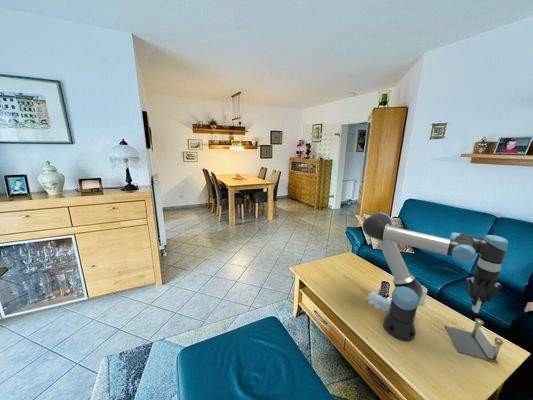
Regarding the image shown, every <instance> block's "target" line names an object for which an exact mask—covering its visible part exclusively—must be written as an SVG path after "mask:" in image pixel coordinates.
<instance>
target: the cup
mask: <svg viewBox="0 0 533 400" xmlns="http://www.w3.org/2000/svg"><path fill="white" fill-rule="evenodd" d="M421 286H422V290H423V294H422V297H421V299H420V302H419V304H418V306H423V305H425V302H426V298H427V294H428V288H427V287H425V286H424V285H422V284H421Z"/></svg>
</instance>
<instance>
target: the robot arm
mask: <svg viewBox="0 0 533 400" xmlns="http://www.w3.org/2000/svg"><path fill="white" fill-rule="evenodd" d="M392 222H393V221H392V219H391V217H390V216H389V215H388V214H386V213H384V212H375V213H372V214H371V215H370V216H368V217H367V218H366V219H364V220H363V222H362V230H363V232H364V234H365V235H367V236H368V237H369V238H372V239H375V240H376V241H377V243H378V244H379V247H380V249H381V252H382V254H383V256H384V258H385V260H386V263H387V265H388V267H389V269H390V271H391V274H392V276H393V279H392V283H393V285H394V289H393V290H392V293H391V298H390V299H391V300H390V305H389V310H388V313H387V314H386V315H385V317H384V319H383V328H384V330H385V331H386V332H387V333H388V334H389V335H390V336H392V337H393V338H396V339H398V340H400V341H404V342H410V341H413V340H414V339H415V337H416V333H417V332H416V327H415V323H414V322H415V319H416V314H417V309H418V307H419V305H418V304H419V302H420V299H421V297H422V294H423V290H422V286H423V285H422V284H421V283H420V282H419V281H418V280H417V279H416V278H415V275H413V274H411V272H409V269H408V267H407V265H406V261H405V260H404V258H403V256H402V254H401V251H400V249H399V247H398V245H397V243H398V244H401V245H405V246H408V247H409V246H410V247H414V248H417V249H421V250H424V251H429V252H433V253H437V254H440V255H444V256H447V257H452V258H453V259H454V260H456V261H457V262H458V263H463V264H468V263H469V264H470V263H471V262H473V261H474V260H475V259H476V255H479V256H478V261H477V265H476V267H475V270H474V274H473V275H472V276H471V277H468V276H467V277H465V279H466V281H467V294H468V296H469V297H470V299H472V300H471V304H472V307H471V309H472V311H473V312H474V313H475V314H479V312H480V308H483V306H484V304H485V303H487V302H491V301H492V299H493V298H494V296H496V294H497V292H498V291H499V290H500V289H502V288H503V285H502V284H500V283H499V282H498V278H499V275H500V272H501V268H502V265H503V261H504V259H505V256H506V253H507V251H508V246H509V241H508V239H506V238H504V237H502V236H498V235H494V234H493V235H492V234H487V235H485V236H484V237H478V236H474V235H470V234H465V233H462V232H455V231H454V232H451V233H450V237H449V238H446V237H442V236H437V235H432V234H428V233H423V232H418V231H413V230H410V229H409V230H408V229H406V228H405V229H404V228H400V227H396V226H395V227H394V226H392ZM474 282H475V286H474ZM421 285H422V286H421Z"/></svg>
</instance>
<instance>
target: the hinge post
mask: <svg viewBox="0 0 533 400" xmlns="http://www.w3.org/2000/svg"><path fill="white" fill-rule="evenodd" d="M474 322H475V323H474V326H473V329H472V331H471V332H472V337H473V338H475V335H476V332H477V329H478V327H480V328H482V326H483V325H484V323H485V322H484V320H482V319H480V318H476V317H475V319H474ZM475 339H476V338H475Z"/></svg>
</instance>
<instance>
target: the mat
mask: <svg viewBox="0 0 533 400" xmlns="http://www.w3.org/2000/svg"><path fill="white" fill-rule="evenodd" d="M444 327H445V330H446V332H447V334H448V336H449V337H450V339H451V342H452V344H453V346H454V348H455V349H456V350H457V353H458V354H462V355H466V356H470V357H474V358H477V359H481V360H484V361H488V362H492V363H494V364H498V363H499V362H498V360H497V359H496V360H493V359H492V358H489V357H488V356H487V354H486V353H485V352H484V350H483V349H482V347H481V346H480V344H479V343H478V341H477V340H476V339H475V338H473V337H472V332H473V331H468V330H464V329H460V328H455V327H451V326H447V325H444Z"/></svg>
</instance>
